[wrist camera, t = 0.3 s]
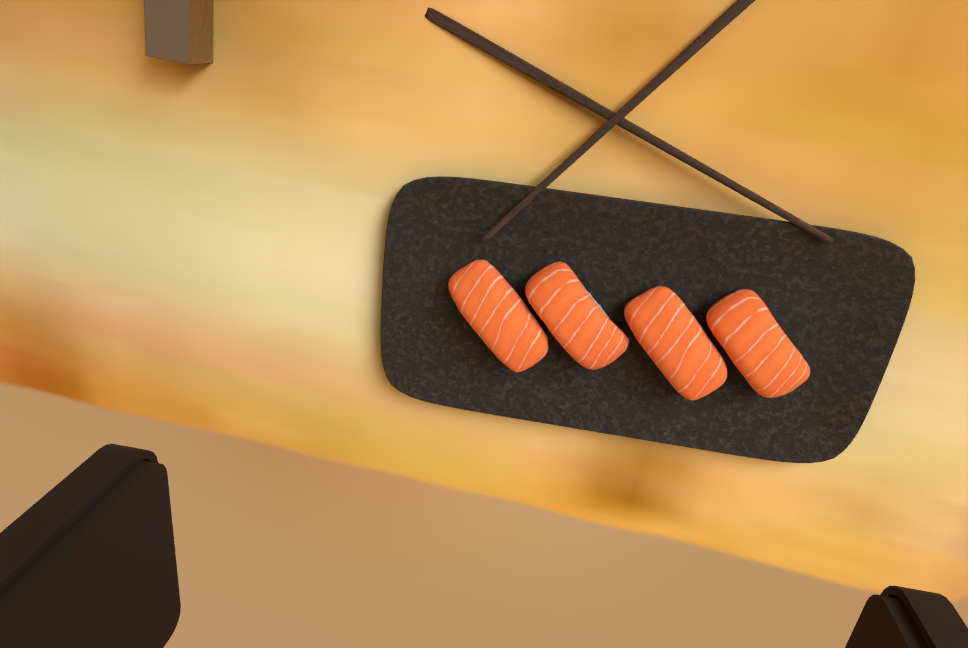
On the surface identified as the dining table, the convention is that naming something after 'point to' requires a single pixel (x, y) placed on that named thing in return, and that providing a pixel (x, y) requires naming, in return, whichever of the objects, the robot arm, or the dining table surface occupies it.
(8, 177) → the dining table surface
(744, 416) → the sushi plate
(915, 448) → the dining table surface
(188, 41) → the rail
